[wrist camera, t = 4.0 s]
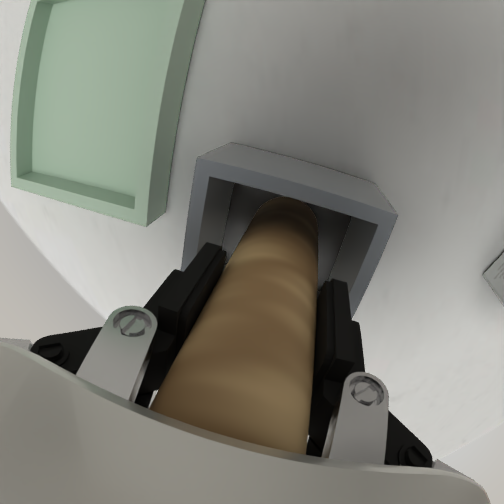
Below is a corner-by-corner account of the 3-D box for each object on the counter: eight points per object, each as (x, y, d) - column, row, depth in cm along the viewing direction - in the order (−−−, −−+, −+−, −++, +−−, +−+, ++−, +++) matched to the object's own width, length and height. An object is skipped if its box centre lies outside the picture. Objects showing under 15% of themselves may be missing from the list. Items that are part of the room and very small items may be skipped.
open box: (374, 183, 15) (398, 215, 11) (328, 302, 19) (329, 361, 14) (231, 142, 15) (196, 157, 11) (207, 267, 19) (176, 316, 15)
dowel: (326, 207, 16) (329, 488, 4) (307, 265, 18) (270, 526, 5) (260, 188, 16) (111, 425, 4) (246, 247, 18) (132, 485, 6)
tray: (211, -21, 11) (195, -37, 9) (165, 212, 18) (146, 226, 16) (56, -2, 12) (33, -7, 10) (33, 177, 19) (11, 186, 17)
